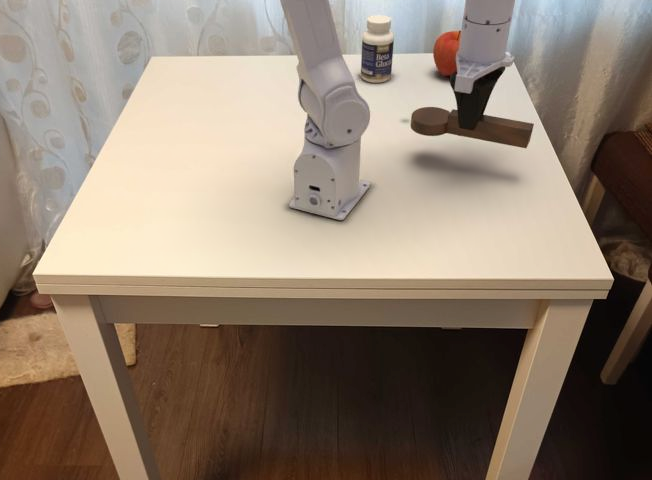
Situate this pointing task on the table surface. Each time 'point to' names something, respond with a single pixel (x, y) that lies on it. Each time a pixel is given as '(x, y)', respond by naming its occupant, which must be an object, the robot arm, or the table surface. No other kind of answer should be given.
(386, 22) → the pill bottle
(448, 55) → the apple
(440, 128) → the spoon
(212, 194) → the table surface
